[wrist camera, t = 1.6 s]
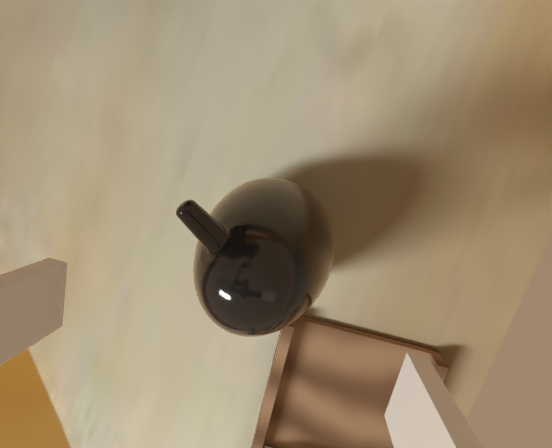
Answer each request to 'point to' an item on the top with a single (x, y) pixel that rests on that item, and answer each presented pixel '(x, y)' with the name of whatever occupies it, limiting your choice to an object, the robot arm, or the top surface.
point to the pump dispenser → (260, 255)
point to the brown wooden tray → (332, 387)
